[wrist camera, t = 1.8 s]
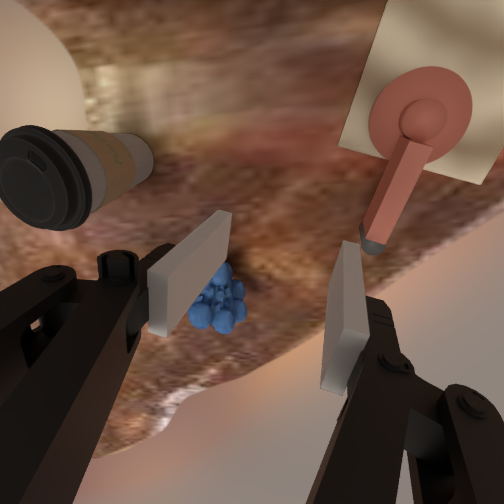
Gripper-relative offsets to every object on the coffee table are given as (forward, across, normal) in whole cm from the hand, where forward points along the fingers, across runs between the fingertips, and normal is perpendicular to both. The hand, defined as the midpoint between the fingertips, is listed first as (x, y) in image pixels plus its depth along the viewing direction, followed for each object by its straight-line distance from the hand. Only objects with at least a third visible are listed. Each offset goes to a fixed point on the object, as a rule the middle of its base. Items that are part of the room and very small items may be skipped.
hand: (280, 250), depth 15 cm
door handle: (+15, +7, +3) cm, 17 cm away
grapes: (+21, -8, -14) cm, 27 cm away
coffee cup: (+21, -23, -3) cm, 31 cm away
